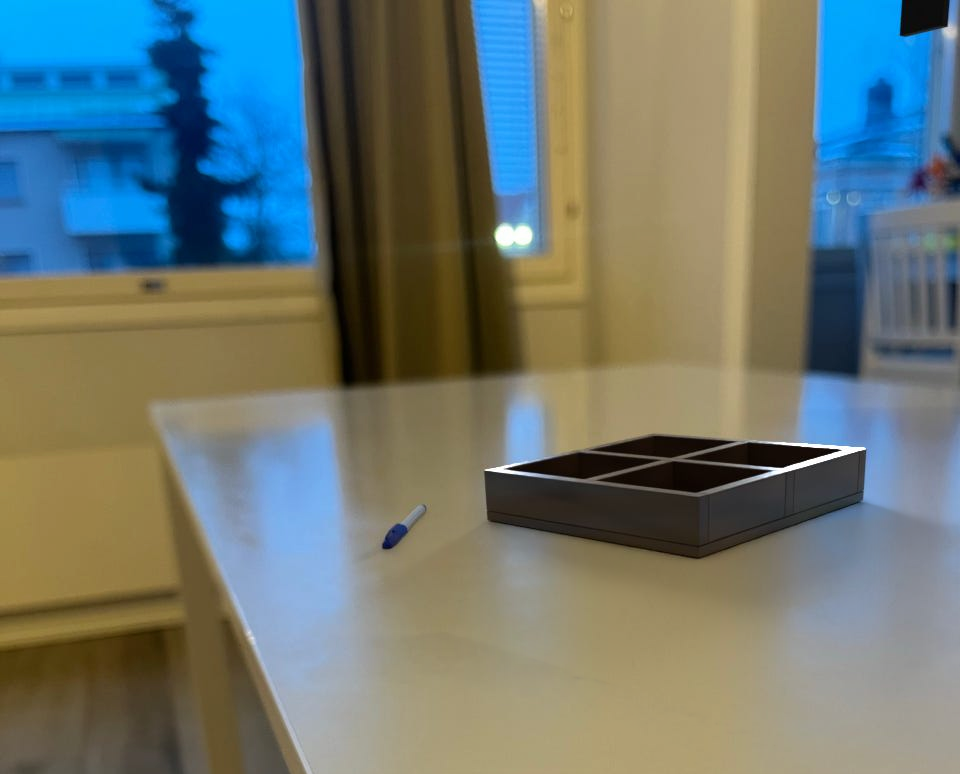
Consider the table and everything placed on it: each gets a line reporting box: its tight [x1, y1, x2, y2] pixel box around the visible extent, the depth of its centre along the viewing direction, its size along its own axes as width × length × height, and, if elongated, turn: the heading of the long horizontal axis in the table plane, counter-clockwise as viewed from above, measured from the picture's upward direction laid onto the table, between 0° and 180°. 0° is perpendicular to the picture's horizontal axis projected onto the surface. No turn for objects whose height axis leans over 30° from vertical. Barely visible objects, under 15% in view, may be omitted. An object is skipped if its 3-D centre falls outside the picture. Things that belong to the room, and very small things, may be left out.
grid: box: [483, 432, 867, 559], centre depth 60 cm, size 16×16×3 cm
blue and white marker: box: [381, 504, 427, 550], centre depth 61 cm, size 10×1×1 cm, turn 173°
